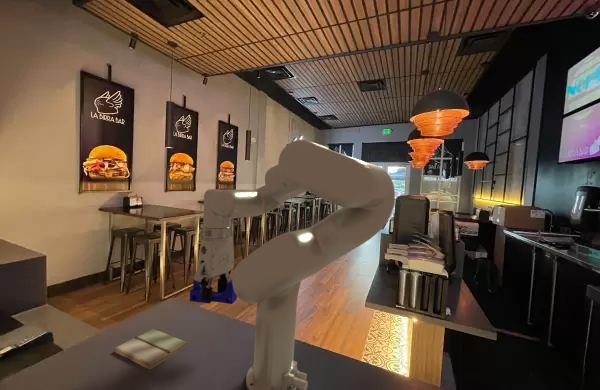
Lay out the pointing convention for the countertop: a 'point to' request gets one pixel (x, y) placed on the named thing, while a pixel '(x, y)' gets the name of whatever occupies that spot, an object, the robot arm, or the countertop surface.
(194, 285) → the cable clip
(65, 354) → the countertop surface
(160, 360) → the board
